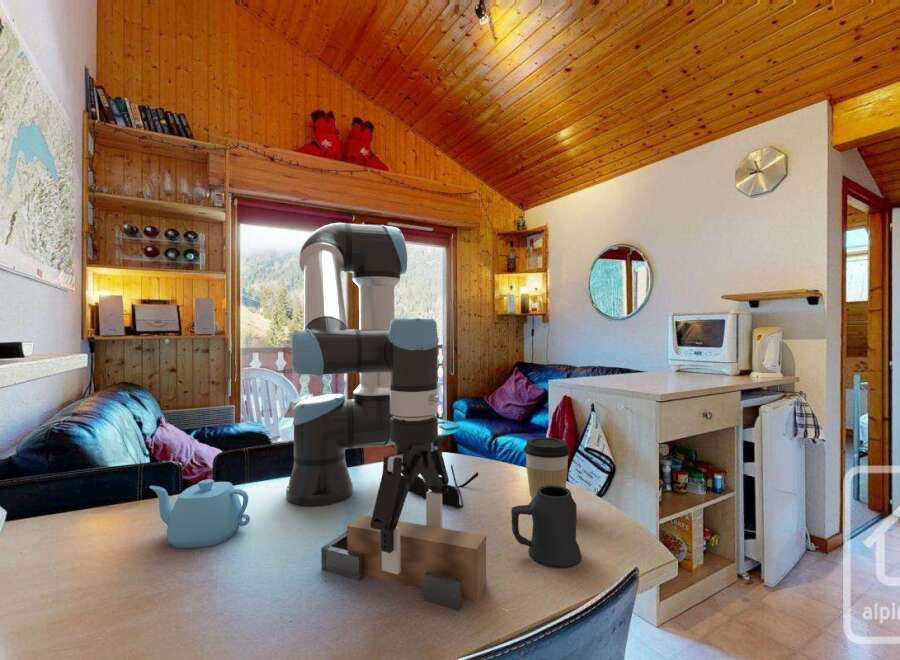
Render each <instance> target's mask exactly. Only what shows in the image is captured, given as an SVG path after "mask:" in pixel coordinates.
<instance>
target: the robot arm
mask: <svg viewBox="0 0 900 660" xmlns="http://www.w3.org/2000/svg"><path fill="white" fill-rule="evenodd" d="M298 255H299V257H298V258H299V260H298V263H299V268H300V270H301V272H302V273H303V329H299V330H295V331H293V332H292V334H291V364H292V365H291V366H292V367H291V368H292V370H293V372H294V373H295V374H297V375H311V376H312V375H315V376H323V375H338V374H339V375H341V374H359V385H358V386H357V387H356V388H355V389H354V391H353V399H346V397H345V395H344V394H343V393H329V394H327V393H326V394H322V395H315V396H312V397H309V398H305V399H303V400H301V401H299V402H297V403H296V405H294V408H293V409H294V410H293V421H292V425H293V467H292V470H291V473H290V478H289V482H288V484H287V487H286V491H285V493H286V494H285V495H286V497H285V498H286V501H287V502H288V503H289V504H291V505H293V506H296V507H303V508H304V507H305V508H317V507H318V508H319V507H320V508H321V507H325V506H331V505H334V504H337V503H341V502H343V501H345V500H347V499H349V498H350V497H351V496H352V495H353V493H354V490H353V489H354V488H353V487H354V485H353V484H354V483H353V479H352V478H351V476H350V472H349V469H348V466H347V465H348V464H347V462H346V450H350V449H361V448H372V447H386V446H391V445H392V446H393V445H395V446H396V451H395V455H394V456H390V455H385V456H384V458H383V462H382V474H381V479H380V483H379V487H378V491H377V495H376V500H375V504H374V508H373V512H372V514H371V515H372V520H371V524H370V526H371V528H374V529H378V530H381V550H382V570H383V571H387V572H390V573H394V574H397V575H398V574H399V573H400V527H398V526H397V523H398V521H400V517H401V515H402V511H403V508H404V505H405V502H406V499H407V496H408V494H409V491H408V490H409V487H410V485H412V484H413V483H414V482H415V479H416V477H417V476H419V475H420V476H421V478H422V479H423V480H424V481H425V483H426V484H427V486H428V488H429V491H428V492H427V493H426V499H425V500H426V501H425V503H426V507H425V508H426V510H425V511H426V512H425V513H426V517H425V518H426V519H425V520H426V521H425V522H426V526H432V527H438V528H443V504H442V492H444V493H447V492H448V486H444V485H449V481H450V479H449V476H448V472H447V467H446V464H445V459H444V457H443V453H442V452H443V451H442V448H441V447H442V446H441V438H440V437H439V419H438V417H437V416H436V414H437V413H438V402H439V401H440V397H439V396H438V378H439V377H438V376H439V375H438V373H439V371H438V366H439V365H438V361H439V360H438V356H439V355H438V354H439V353H438V352H439V351H438V349H439V348H438V347H439V346H438V345H439V342H440V341H439V340H440V339H439V337H438V326H437V325H438V324H437V321H436V320H435V318H432V317H395V287H396V286H397V285H398V283H400V282H401V275H404V274H405V273H406V272H407V269H408V250H407V244H406V239H405V237H404V234H403V232H402V231H401V229H399V228H398V227H396V226H389V225H384V224H363V223H346V222H335V223H334V222H333V223H328V224H326V225H323V226H322V227H320V228H317V229H316V230H315V231H313V232H312V233H311V234H310V235H309V236H308V237H307V238H306V240H305V241H304V242H303V244H302V246H301V248H300V251H299V254H298ZM341 273H351V274H352V281H353V283H355V285H356V286H357V287H358V311H359V314H358V315H359V316H358V317H359V318H358V319H359V323H358V325H359V329H348V324H347V316H346V308H345V299H344V291H343V290H344V289H343V283H342V281H343V280H342V274H341Z"/></svg>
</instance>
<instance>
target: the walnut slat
mask: <svg viewBox="0 0 900 660" xmlns="http://www.w3.org/2000/svg"><path fill="white" fill-rule="evenodd" d="M371 520H372V516H371V515H367V514H361V515H360V516H358V517H357V518H356V519H355V520H353V521H352V522H350V523H349V524H348V525H347V527H346V531H347V551H350V552H354V553H358V554H362V555H363V576H365V577H370V578H375V579H378V580H382V581H385V582H387V581H388V582H392V583H395V584H399V585H400V584H401V585H405V586H409V587H413V588H417V589H422V590H424V574H425V573H426V572H431V573H435V574H439V575H443V576H447V577H451V578H455V579H458V580H461V592H462V599H464V600H469V601H473V602H479V600H480V598H481V596H482V593H483V592H484V590H485V588H486V586H487V535H485V534H478V533H472V532H467V531H461V530H455V529H449V528H443V527H442V528H438V527H432V526H426V525H425V524H419V523H414V522H407V521H402V520H398V523H397V526H398V527H400V573H399V574H398V575H397V574H394V573H390V572H387V571H383V570H382V550H381V530H378V529H374V528H371V526H370V524H371Z"/></svg>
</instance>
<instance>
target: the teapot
mask: <svg viewBox="0 0 900 660" xmlns="http://www.w3.org/2000/svg"><path fill="white" fill-rule="evenodd" d="M149 489H151V490H152V491H154V492H155V494H156V495H157V498H158V502H159V503H158V507H159V509H158V510H159V517H160V518H161V521H162V522H163V523H164V524H165V525H167V527H166V528H167V529H166V539H167V542H169V544H170V545H171V546H172V547H173V548H176V549H177V548H178V549H195V548H196V549H197V548H203V547H204V548H205V547H212V546H217V545H219V544H221V543H224V542H225V541H226V540H228V539H230V537H233V535H235V533H236V532H237V531H238V529H239V527H245V526H247V525H249V523H250V522H251V518H250V515H249V514H247V513H245V511H246V509H247V506H248V503H249V494H248V492H246V491H245V490H243V489H241V488H235V487H234V485H233V483H232V482H229V481H215V480H214V479H211V478H210V479H203V480H201V481H198V483H197V484H193V485H191V486H190V487H188V488H186V489H184V490H182V492H181V493H179V495H178V497H177V499H176V501H175V502H174V505H173V504H172V503H171V500H170V498H169V494H168V492H167V490H166V489H165V488H164V487H161V486H157V485H150V486H149ZM239 496H241V497H242V502H241V500H240V497H239ZM241 503H242V504H241ZM243 519H244V520H243Z"/></svg>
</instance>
